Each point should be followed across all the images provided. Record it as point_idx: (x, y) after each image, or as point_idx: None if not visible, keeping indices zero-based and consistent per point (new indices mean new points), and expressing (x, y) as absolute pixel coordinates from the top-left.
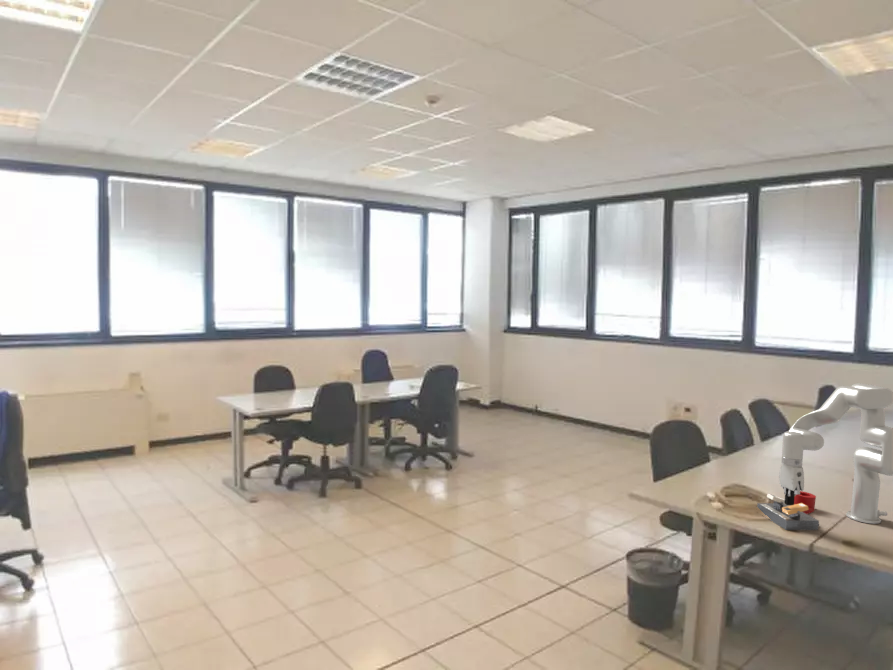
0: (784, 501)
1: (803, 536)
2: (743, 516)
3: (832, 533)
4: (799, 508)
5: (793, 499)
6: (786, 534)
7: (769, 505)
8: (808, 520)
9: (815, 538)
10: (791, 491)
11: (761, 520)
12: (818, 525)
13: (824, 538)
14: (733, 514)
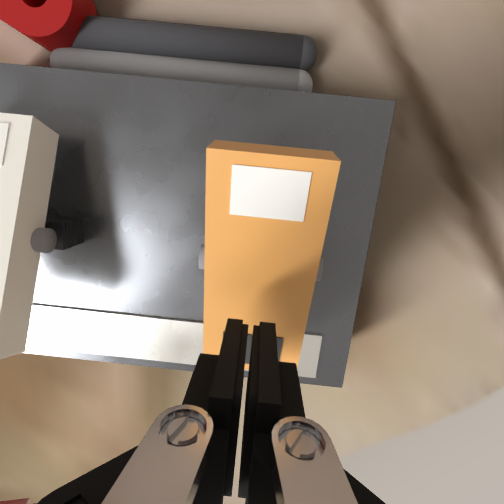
0: (27, 207)
1: (437, 315)
2: (106, 442)
3: (443, 43)
4: (317, 271)
5: (302, 401)
6: (388, 393)
7: None
8: (372, 204)
9: (484, 261)
10: (200, 473)
11: (169, 384)
12: (316, 54)
13: (501, 196)
14: (77, 474)
